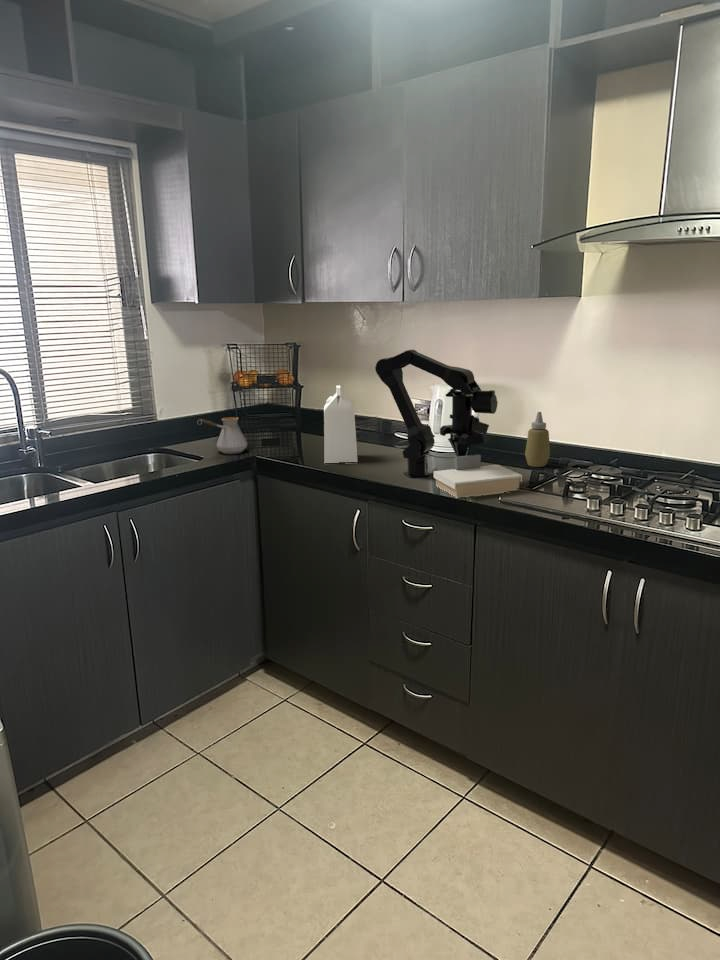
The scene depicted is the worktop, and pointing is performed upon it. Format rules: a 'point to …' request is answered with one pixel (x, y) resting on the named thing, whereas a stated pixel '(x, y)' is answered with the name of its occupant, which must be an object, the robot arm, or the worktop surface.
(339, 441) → the milk
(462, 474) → the lid
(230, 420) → the coffee pot
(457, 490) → the mailer box
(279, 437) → the worktop surface
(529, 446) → the squeeze bottle
